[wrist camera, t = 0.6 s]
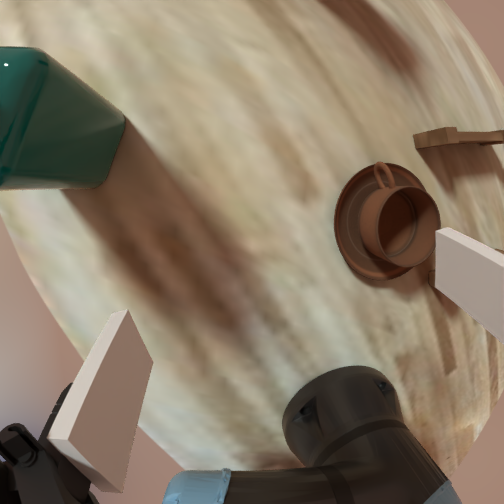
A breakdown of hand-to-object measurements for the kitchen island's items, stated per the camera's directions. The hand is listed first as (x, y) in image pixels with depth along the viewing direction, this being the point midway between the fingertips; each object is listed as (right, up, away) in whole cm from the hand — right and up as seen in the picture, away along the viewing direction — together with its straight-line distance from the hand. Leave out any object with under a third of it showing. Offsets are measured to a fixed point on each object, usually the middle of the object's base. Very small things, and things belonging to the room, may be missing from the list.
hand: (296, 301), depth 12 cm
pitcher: (-19, +13, +15) cm, 28 cm away
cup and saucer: (+12, +5, +19) cm, 23 cm away
